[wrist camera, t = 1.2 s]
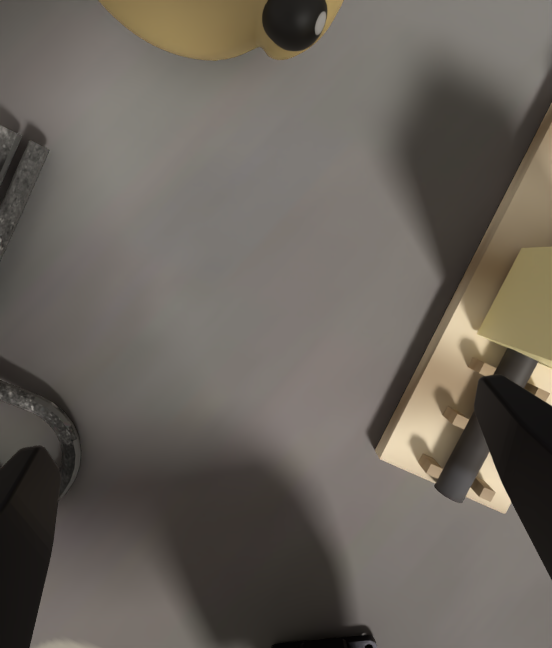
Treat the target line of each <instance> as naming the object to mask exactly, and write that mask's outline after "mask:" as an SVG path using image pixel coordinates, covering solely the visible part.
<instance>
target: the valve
mask: <svg viewBox="0 0 552 648" xmlns="http://www.w3.org/2000/svg"><path fill="white" fill-rule="evenodd" d="M21 138H22V136H21V135H19V134H17V133H15V132H13V131H11V130H9V129H8V128H6V127H4V126H2V125H0V186H1V183H2V181H3V179H4V177H5V174H6V172H7V170H8V168H9V165H10V163H11V161H12V159H13V156H14V154H15V152H16V150H17V147H18V145H19V143H20V141H21ZM48 153H49V150H48V149H46V148H45V147H43V146H41V145H39V144H37V143H35V142H33V141H31V140H29V142H28V145H27V147H26V149H25V151H24V154H23V156H22V158H21V161H20V163H19V165H18V167H17V170H16V172H15V174H14V176H13V179H12V181H11V183H10V186H9V188H8V190H7V192H6V195H5V197H4V199H3V201H2V204H1V206H0V261H1V259H2V256H3V254H4V252H5V250H6V247H7V245H8V243H9V241H10V238H11V236H12V234H13V232H14V229H15V227H16V225H17V223H18V220H19V218H20V216H21V214H22V211H23V209H24V207H25V205H26V202H27V200H28V198H29V196H30V193H31V191H32V189H33V187H34V184H35V182H36V180H37V178H38V175H39V173H40V171H41V169H42V166H43V164H44V162H45V159H46V157H47V155H48ZM0 400H1V401H3V402H6V403H8V404H11V405H14V406H16V407H19V408H22V409H24V410H27V411H29V412H31V413H33V414H35V415H37V416H39V417H41V418H42V419H43V420H44V421H46V422H47V423H48V424H49V425H50V426H51V427H52V429H53V430H54V431H55V433H56V434H57V437H58V439H59V441H60V443H61V449H62V465H61V468H60V474H61V483H60V491H59V499H58V501H59V500H60V499H61V498H62V497H63V496H64V495H65V494H66V493H67V491H68V490H69V488H70V486H71V485H72V483H73V482H74V480H75V478H76V476H77V473H78V470H79V466H80V461H81V446H80V441H79V436H78V434H77V431H76V429H75V427H74V425H73V423H72V422H71V420H70V419H69V418H68V416H67V415H66V414H65V413H64V411H62V410H61V409H60V408H59V407H58V406H56V405H55V404H54V403H53V402H51V401H49V400H47V399H45V398H43V397H41V396H39V395H37V394H35V393H32V392H30V391H27V390H25V389H22V388H20V387H17V386H14V385H12V384H9V383H7V382H4V381H2V380H0Z"/></svg>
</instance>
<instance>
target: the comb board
mask: <svg viewBox="0 0 552 648" xmlns="http://www.w3.org/2000/svg"><path fill="white" fill-rule="evenodd" d="M551 246H552V103H551V105H550V107H549V109H548V111H547V113H546V115H545V117H544V119H543V121H542V123H541V125H540V127H539V129H538V131H537V133H536V134H535V136H534V138H533V140H532V142H531V144H530V146H529V148H528V150H527V152H526V154H525V156H524V158H523V160H522V162H521V164H520V166H519V168H518V170H517V172H516V174H515V176H514V178H513V180H512V182H511V184H510V186H509V188H508V190H507V192H506V193H505V195H504V197H503V199H502V201H501V203H500V205H499V207H498V209H497V211H496V213H495V215H494V217H493V219H492V221H491V223H490V225H489V227H488V229H487V231H486V233H485V235H484V237H483V239H482V241H481V243H480V245H479V247H478V249H477V251H476V252H475V254H474V256H473V258H472V260H471V262H470V264H469V266H468V268H467V270H466V272H465V274H464V276H463V278H462V280H461V282H460V284H459V286H458V288H457V290H456V292H455V294H454V296H453V298H452V300H451V302H450V304H449V306H448V308H447V310H446V311H445V313H444V315H443V317H442V319H441V321H440V323H439V325H438V327H437V329H436V331H435V333H434V335H433V337H432V339H431V341H430V343H429V345H428V347H427V349H426V351H425V353H424V355H423V357H422V359H421V361H420V363H419V365H418V367H417V368H416V370H415V372H414V374H413V376H412V378H411V380H410V382H409V384H408V386H407V388H406V390H405V392H404V394H403V396H402V398H401V400H400V402H399V404H398V406H397V408H396V410H395V412H394V414H393V416H392V418H391V420H390V422H389V424H388V426H387V427H386V429H385V431H384V433H383V435H382V437H381V439H380V441H379V443H378V445H377V447H376V449H375V451H376V453H377V455H378V457H379V459H381V460H383V461H386V462H388V463H390V464H392V465H395V466H397V467H399V468H401V469H404V470H406V471H408V472H411V473H413V474H415V475H417V476H420V477H422V478H424V479H426V480H429V481H431V482H433V483H435V485H434V487H435V488H436V489H437V490H438V491H439V492H440V493H441V494H442V495H444V496H445V497H447V498H449V499H451V500H453V501H455V502H458V503H462V502H463V500H464V498H465V497H467V498H470V499H472V500H474V501H476V502H479V503H481V504H483V505H485V506H488V507H490V508H492V509H495V510H497V511H499V512H501V513H504V514H505V513H506V511H507V509H508V508H509V506H510V504H511V500H510V498H509V496H508V495H507V492H506V490H505V488H504V486H503V484H502V482H501V480H500V477H499V475H498V472H497V470H496V467H495V465H494V462H493V459H492V457H491V454H490V452H489V449H488V446H487V444H486V441H485V439H484V436H483V433H482V431H481V428H480V426H479V423H478V420H477V418H476V415H475V411H474V401H475V396H476V390H477V385H478V380H479V379H480V378H481V377H483V376H488V375H495V374H501V375H503V376H505V377H507V378H508V379H510V380H512V381H513V382H515V383H516V384H518V385H520V386H521V387H523V388H524V389H526V390H527V391H529V392H531V393H532V394H534V395H535V396H537V397H539V398H540V399H542V400H543V401H545V402H547V403H548V404H550V405H551V406H552V369H550V368H548V367H546V366H544V365H542V364H540V363H538V362H539V361H537V360H534V359H532V358H530V357H528V356H526V355H524V354H522V353H520V352H517V351H515V350H513V349H510V348H507V347H505V346H502V345H499V344H497V343H495V342H492V341H490V340H488V339H486V338H484V337H482V336H480V335H478V334H477V333H478V331H479V329H480V327H481V325H482V323H483V321H484V319H485V317H486V315H487V313H488V311H489V309H490V308H491V306H492V304H493V302H494V300H495V298H496V296H497V294H498V292H499V290H500V288H501V286H502V284H503V283H504V281H505V279H506V277H507V275H508V273H509V271H510V269H511V267H512V265H513V263H514V261H515V259H516V258H517V256H518V254H519V252H520V250H521V248H531V247H551Z"/></svg>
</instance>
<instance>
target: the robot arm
mask: <svg viewBox="0 0 552 648" xmlns="http://www.w3.org/2000/svg"><path fill="white" fill-rule="evenodd" d="M474 411H475V415H476V418H477V420H478V423H479V426H480V428H481V431H482V433H483V436H484V439H485V441H486V444H487V446H488V449H489V452H490V454H491V457H492V459H493V462H494V465H495V467H496V470H497V472H498V475H499V477H500V480H501V482H502V484H503V486H504V488H505V490H506V492H507V495H508V496H509V498H510V500H511V502H512V504H513V506H514V508H515V510H516V512H517V514H518V516H519V518H520V520H521V522H522V523H523V525H524V527H525V529H526V531H527V533H528V535H529V537H530V539H531V541H532V543H533V545H534V547H535V549H536V550H537V552H538V554H539V556H540V558H541V560H542V562H543V564H544V566H545V568H546V570H547V572H548V574H549V575H550V577H551V579H552V406H551V405H550V404H548V403H547V402H545V401H543V400H542V399H540V398H539V397H537V396H535V395H534V394H532V393H531V392H529V391H527V390H526V389H524V388H523V387H521V386H520V385H518V384H516V383H515V382H513V381H512V380H510V379H508V378H507V377H505V376H503V375H501V374H495V375H488V376H483V377H481V378H480V379H479V380H478V385H477V390H476V396H475V401H474ZM60 483H61V474H60V470H59V468H58V466H57V465H56V463H55V462H54V460H53V459H52V457H51V456H50V454H49V453H48V451H47V450H46V449H45V448H44V447H43V446H33V447H26V448H22V449H20V450H19V451H18V452H17V453H16V454H15V455H14V456H13V457H12V458H11V459H10V460H9V461H8V462H7V463H6V464H5V465H4V466H3V467H2V468H1V469H0V648H29V647H30V643H31V639H32V635H33V630H34V626H35V622H36V617H37V613H38V609H39V605H40V600H41V596H42V592H43V588H44V583H45V579H46V575H47V571H48V566H49V562H50V557H51V552H52V546H53V540H54V531H55V523H56V515H57V507H58V499H59V491H60ZM367 644H371V645H370V646H366V645H367ZM271 648H377V645H376V642H375V639H374V638H373V637H372V636H369V635H365V636H354V637H344V638H333V639H323V640H312V641H301V642H291V643H280V644H275V645H273V646H272V647H271Z"/></svg>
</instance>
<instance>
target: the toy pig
mask: <svg viewBox="0 0 552 648" xmlns="http://www.w3.org/2000/svg"><path fill="white" fill-rule="evenodd" d="M343 1H344V0H99V2H100V3H101V4H102V5H103V6H104V7H105V8H106V9H107V10H108V12H109V13H110V14H111V15H112V16H114V17H115V18H116V19H117V20H118V21H119V22H120V23H121V24H122V25H124V26H125V27H126V28H127V29H129V30H130V31H131V32H133V33H134V34H135V35H137V36H138V37H140V38H142V39H143V40H145V41H146V42H148V43H150V44H152V45H154V46H156V47H158V48H160V49H163V50H165V51H168V52H170V53H173V54H176V55H180V56H184V57H188V58H193V59H200V60H213V61H216V60H223V59H229V58H233V57H236V56H239V55H242V54H244V53H247V52H249V51H251V50H253V49H255V48H257V47H261V48H263V49H264V51H265V52H266V54H267V55H268V56H269V57H271V58H273V59H276V60H285V59H289V58H292V57H294V56H297V55H298V54H300V53H302V52H304V51H305V50H307V49H308V48H310V47H311V46H312V45H314V44H315V43H316V42H317V41H318V40H319V39H320V38H321V37H322V36H323V34H324V33H325V32H326V31H327V29H328V28H329V26H330V25H331V23H332V21H333V20H334V18H335V16H336V14H337V13H338V11H339V9H340V7H341V5H342V3H343Z"/></svg>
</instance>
